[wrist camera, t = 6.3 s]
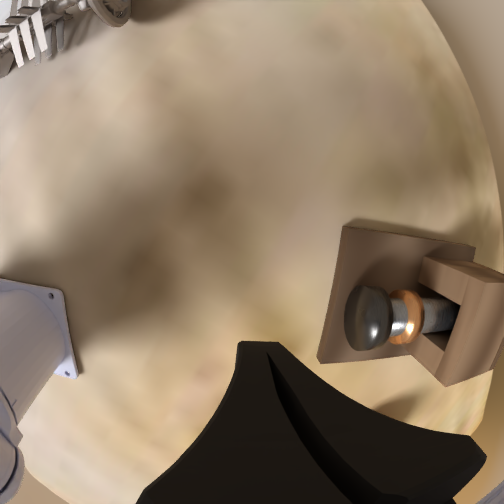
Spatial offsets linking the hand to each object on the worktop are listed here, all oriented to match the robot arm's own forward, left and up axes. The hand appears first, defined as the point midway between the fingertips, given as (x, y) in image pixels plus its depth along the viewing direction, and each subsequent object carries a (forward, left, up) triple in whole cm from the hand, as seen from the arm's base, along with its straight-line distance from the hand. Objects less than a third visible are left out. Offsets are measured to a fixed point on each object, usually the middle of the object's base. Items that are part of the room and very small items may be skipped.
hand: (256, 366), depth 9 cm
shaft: (+13, -1, -8) cm, 15 cm away
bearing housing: (+14, -1, -9) cm, 17 cm away
